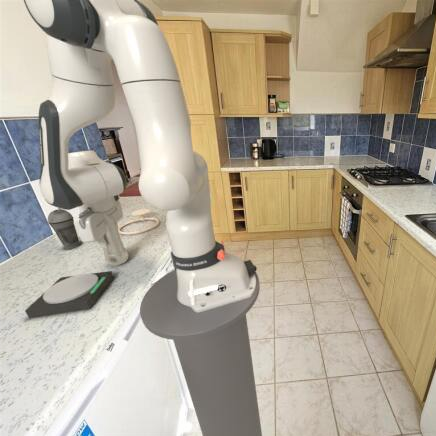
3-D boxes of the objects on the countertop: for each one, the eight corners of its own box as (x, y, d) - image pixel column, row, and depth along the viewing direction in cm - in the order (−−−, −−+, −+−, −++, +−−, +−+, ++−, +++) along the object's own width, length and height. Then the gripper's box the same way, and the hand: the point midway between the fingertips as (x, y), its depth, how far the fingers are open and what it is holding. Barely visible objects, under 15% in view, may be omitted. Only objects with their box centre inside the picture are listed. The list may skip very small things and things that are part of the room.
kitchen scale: (114, 277, 77) (110, 268, 76) (90, 308, 65) (85, 299, 63) (63, 284, 75) (59, 275, 74) (29, 318, 62) (23, 308, 61)
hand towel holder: (109, 228, 101) (123, 211, 119) (112, 238, 103) (125, 219, 121) (153, 222, 106) (161, 206, 124) (156, 231, 107) (163, 214, 125)
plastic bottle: (113, 259, 88) (93, 207, 80) (133, 256, 89) (115, 205, 81) (104, 269, 82) (81, 214, 74) (125, 266, 83) (105, 212, 75)
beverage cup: (59, 246, 97) (37, 199, 89) (82, 240, 102) (63, 194, 94) (61, 253, 92) (38, 203, 84) (85, 245, 97) (65, 198, 89)
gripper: (89, 214, 67) (105, 256, 73) (120, 192, 86) (131, 227, 91) (63, 216, 66) (81, 259, 72) (100, 193, 85) (112, 229, 90)
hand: (109, 241), depth 82 cm, fingers closed on plastic bottle, 5 cm apart
